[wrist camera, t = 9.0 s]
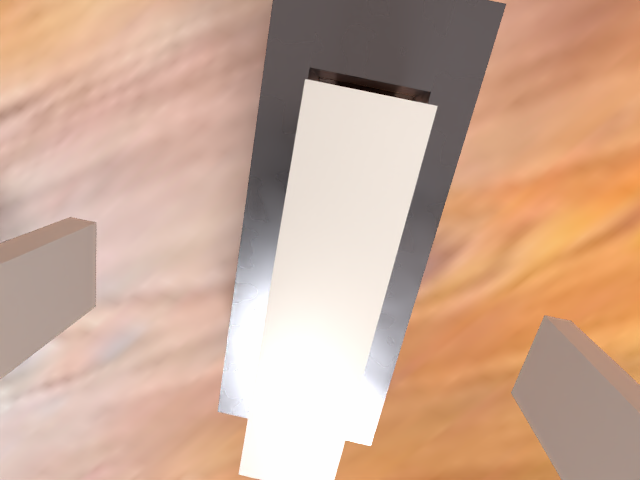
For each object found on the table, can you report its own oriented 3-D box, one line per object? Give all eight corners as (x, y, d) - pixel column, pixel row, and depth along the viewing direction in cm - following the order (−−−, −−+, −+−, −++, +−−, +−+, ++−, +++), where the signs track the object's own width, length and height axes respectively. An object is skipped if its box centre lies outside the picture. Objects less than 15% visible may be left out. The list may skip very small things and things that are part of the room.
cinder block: (239, 363, 24) (217, 411, 20) (295, -8, 17) (278, -42, 13) (368, 392, 23) (370, 445, 20) (472, 27, 17) (506, 3, 13)
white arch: (341, 326, 22) (329, 495, 12) (290, 315, 22) (238, 474, 12) (393, 110, 18) (437, 106, 9) (331, 97, 18) (305, 79, 9)
